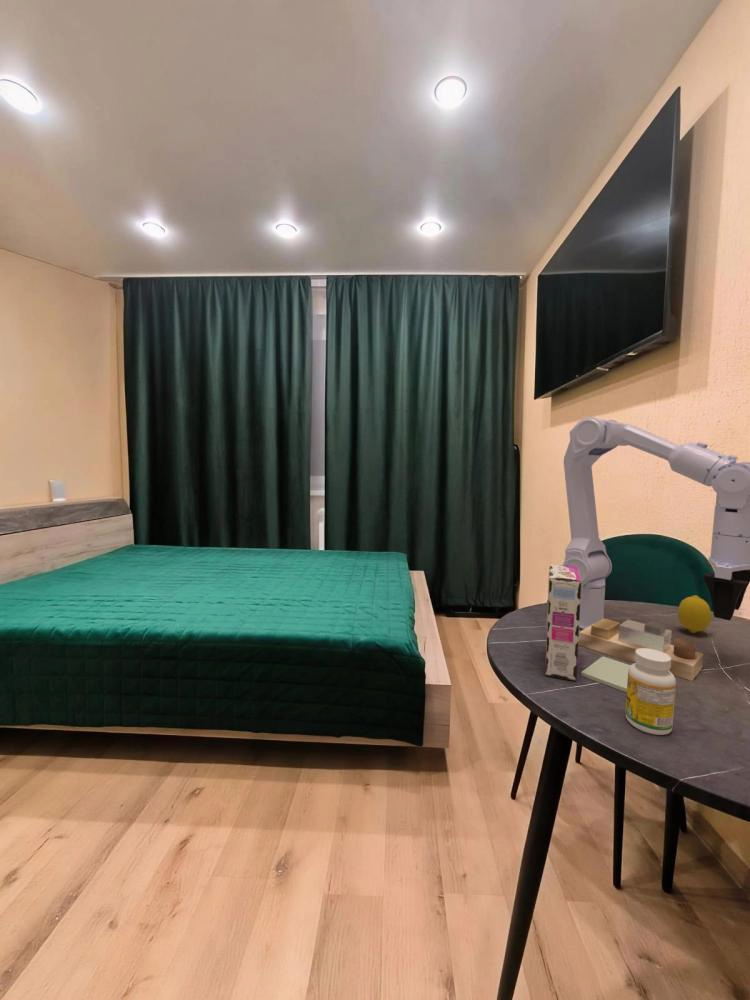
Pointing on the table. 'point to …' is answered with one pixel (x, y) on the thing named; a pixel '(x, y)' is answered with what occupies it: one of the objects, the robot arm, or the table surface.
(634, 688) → the supplement bottle
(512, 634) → the table surface
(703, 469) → the robot arm
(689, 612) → the lemon
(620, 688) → the felt mat
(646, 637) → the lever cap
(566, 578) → the candy bar box
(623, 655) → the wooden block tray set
